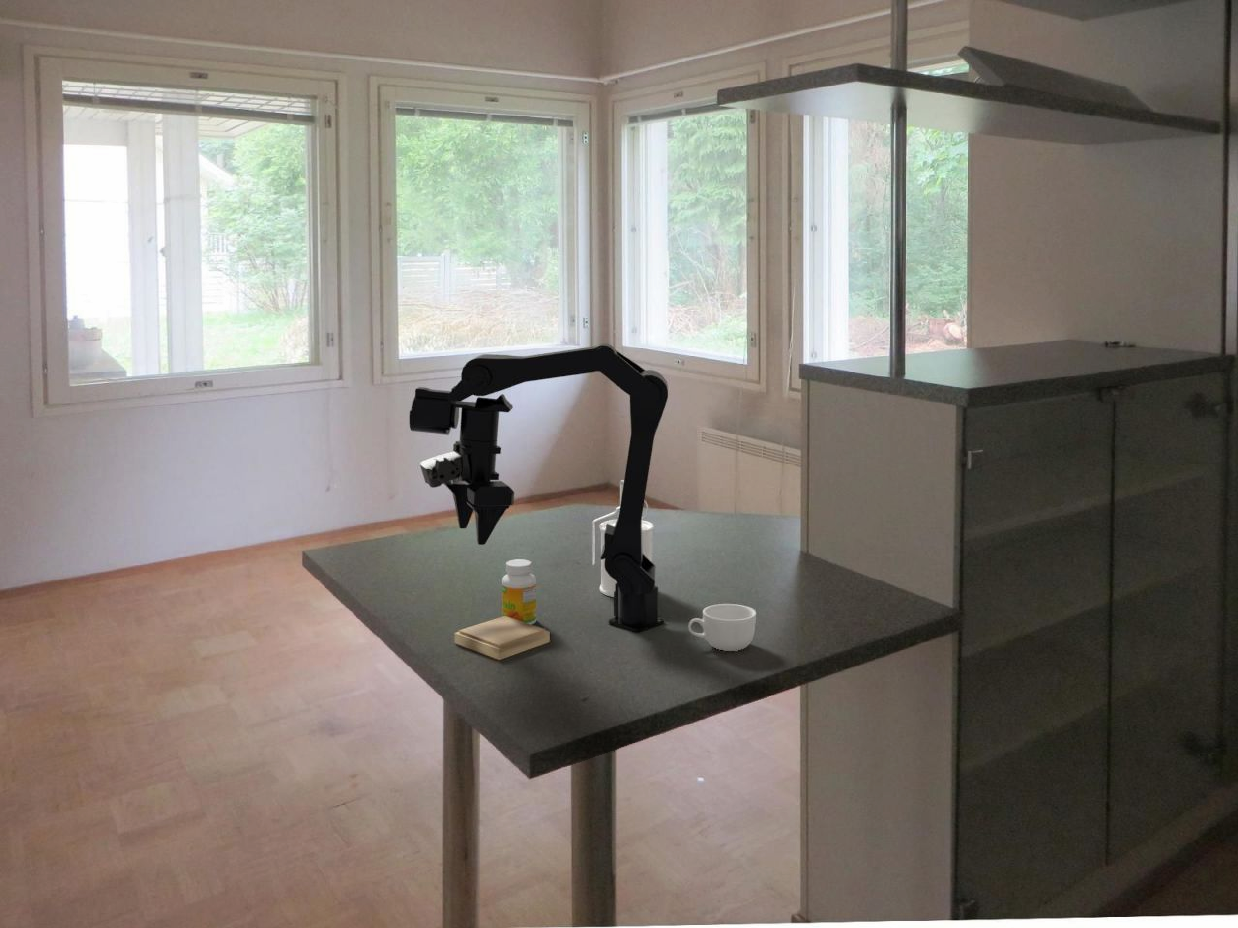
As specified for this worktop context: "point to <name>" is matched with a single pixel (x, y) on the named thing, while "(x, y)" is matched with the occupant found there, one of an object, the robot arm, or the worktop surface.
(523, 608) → the supplement bottle
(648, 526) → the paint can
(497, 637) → the beige square tray
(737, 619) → the teacup
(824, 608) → the worktop surface
